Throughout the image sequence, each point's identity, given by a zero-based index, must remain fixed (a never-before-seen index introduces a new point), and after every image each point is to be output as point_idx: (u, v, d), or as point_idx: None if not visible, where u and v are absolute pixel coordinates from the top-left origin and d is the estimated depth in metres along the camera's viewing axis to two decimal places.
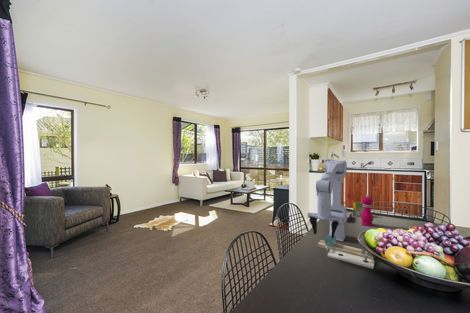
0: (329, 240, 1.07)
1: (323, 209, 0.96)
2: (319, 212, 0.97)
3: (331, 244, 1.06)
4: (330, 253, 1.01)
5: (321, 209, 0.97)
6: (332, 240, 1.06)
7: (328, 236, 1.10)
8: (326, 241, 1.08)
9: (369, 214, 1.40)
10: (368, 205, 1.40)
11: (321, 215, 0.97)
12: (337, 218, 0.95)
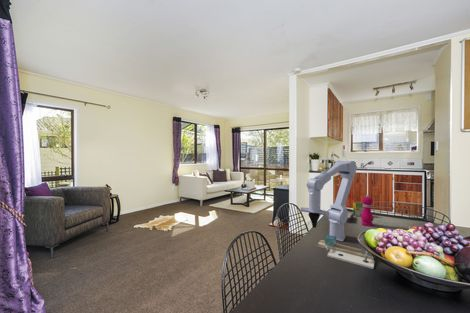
0: (329, 240, 1.07)
1: (313, 204, 1.11)
2: (310, 206, 1.12)
3: (331, 244, 1.06)
4: (330, 253, 1.01)
5: (312, 204, 1.11)
6: (332, 240, 1.06)
7: (328, 236, 1.10)
8: (326, 241, 1.08)
9: (369, 214, 1.40)
10: (368, 205, 1.40)
11: (312, 209, 1.11)
12: (325, 212, 1.10)
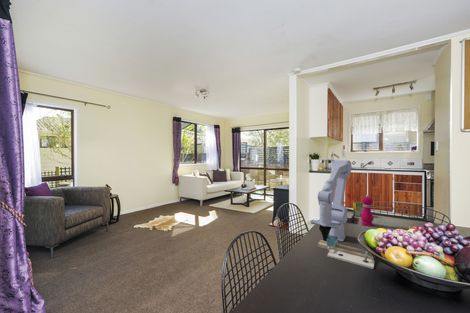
0: (331, 240, 1.06)
1: (324, 217, 1.08)
2: (321, 219, 1.09)
3: (333, 244, 1.06)
4: (330, 253, 1.01)
5: (323, 217, 1.08)
6: (334, 240, 1.06)
7: (330, 236, 1.09)
8: (328, 241, 1.07)
9: (369, 214, 1.40)
10: (368, 205, 1.40)
11: (323, 222, 1.08)
12: (337, 225, 1.07)
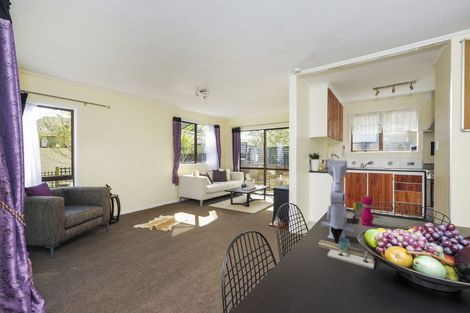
0: (343, 243, 1.03)
1: (336, 219, 1.04)
2: (333, 222, 1.06)
3: (345, 247, 1.03)
4: (330, 253, 1.01)
5: (334, 219, 1.05)
6: (346, 243, 1.02)
7: (342, 239, 1.06)
8: (340, 244, 1.04)
9: (369, 214, 1.40)
10: (368, 205, 1.40)
11: (334, 224, 1.05)
12: (349, 227, 1.04)
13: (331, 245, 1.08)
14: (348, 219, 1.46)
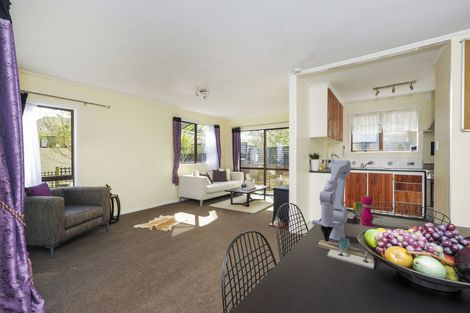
0: (343, 243, 1.03)
1: (326, 217, 1.07)
2: (323, 220, 1.09)
3: (345, 247, 1.03)
4: (330, 253, 1.01)
5: (324, 217, 1.08)
6: (346, 243, 1.02)
7: (342, 239, 1.06)
8: (340, 244, 1.04)
9: (369, 214, 1.40)
10: (368, 205, 1.40)
11: (324, 223, 1.08)
12: (339, 225, 1.06)
13: (331, 245, 1.08)
14: (349, 219, 1.46)
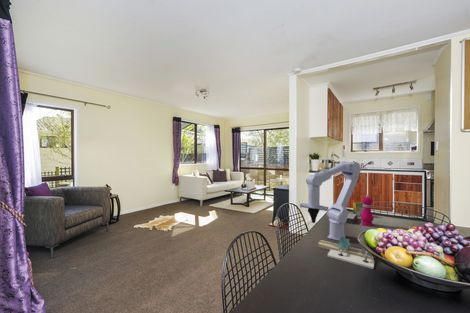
0: (343, 243, 1.03)
1: (313, 199, 1.13)
2: (309, 202, 1.15)
3: (345, 247, 1.03)
4: (330, 253, 1.01)
5: (311, 199, 1.14)
6: (346, 243, 1.02)
7: (342, 239, 1.06)
8: (340, 244, 1.04)
9: (369, 214, 1.40)
10: (368, 205, 1.40)
11: (311, 205, 1.14)
12: (324, 207, 1.12)
13: (331, 245, 1.08)
14: (349, 219, 1.45)
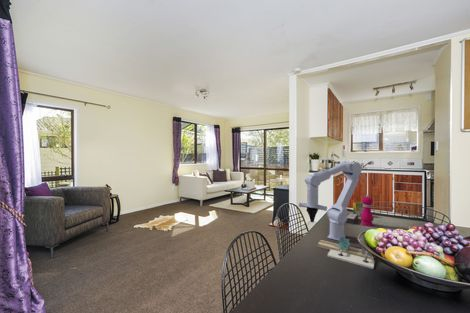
0: (343, 243, 1.03)
1: (311, 199, 1.14)
2: (308, 202, 1.16)
3: (345, 247, 1.03)
4: (330, 253, 1.01)
5: (310, 199, 1.15)
6: (346, 243, 1.02)
7: (342, 239, 1.06)
8: (340, 244, 1.04)
9: (369, 214, 1.40)
10: (368, 205, 1.40)
11: (310, 204, 1.15)
12: (323, 206, 1.13)
13: (331, 245, 1.08)
14: (350, 220, 1.45)
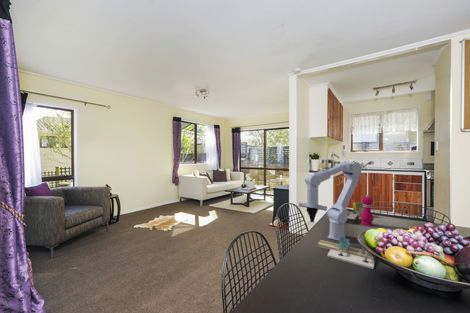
0: (343, 243, 1.03)
1: (311, 199, 1.14)
2: (308, 202, 1.16)
3: (345, 247, 1.03)
4: (330, 253, 1.01)
5: (310, 199, 1.15)
6: (346, 243, 1.02)
7: (342, 239, 1.06)
8: (340, 244, 1.04)
9: (369, 214, 1.40)
10: (368, 205, 1.40)
11: (310, 204, 1.15)
12: (323, 206, 1.13)
13: (331, 245, 1.08)
14: (350, 220, 1.44)
